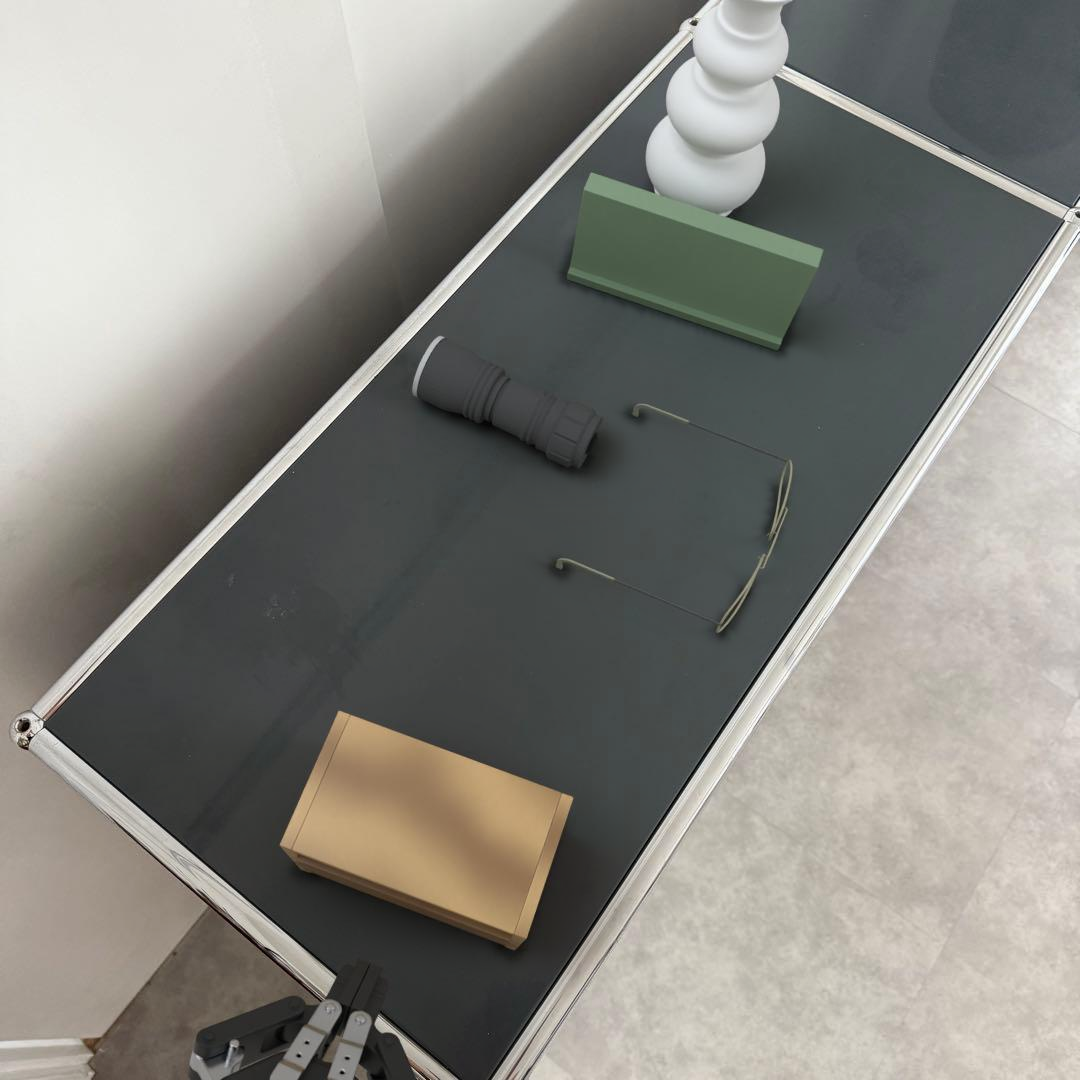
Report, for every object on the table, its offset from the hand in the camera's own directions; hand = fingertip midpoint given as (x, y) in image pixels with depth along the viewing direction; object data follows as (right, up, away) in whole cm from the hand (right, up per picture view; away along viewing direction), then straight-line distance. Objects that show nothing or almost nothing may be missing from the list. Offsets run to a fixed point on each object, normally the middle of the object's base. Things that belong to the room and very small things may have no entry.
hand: (367, 974), depth 62 cm
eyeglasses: (+21, +25, +29) cm, 44 cm away
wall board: (+22, +46, +38) cm, 63 cm away
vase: (+24, +57, +43) cm, 76 cm away
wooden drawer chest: (+2, +3, +17) cm, 17 cm away
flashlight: (+7, +34, +31) cm, 47 cm away
